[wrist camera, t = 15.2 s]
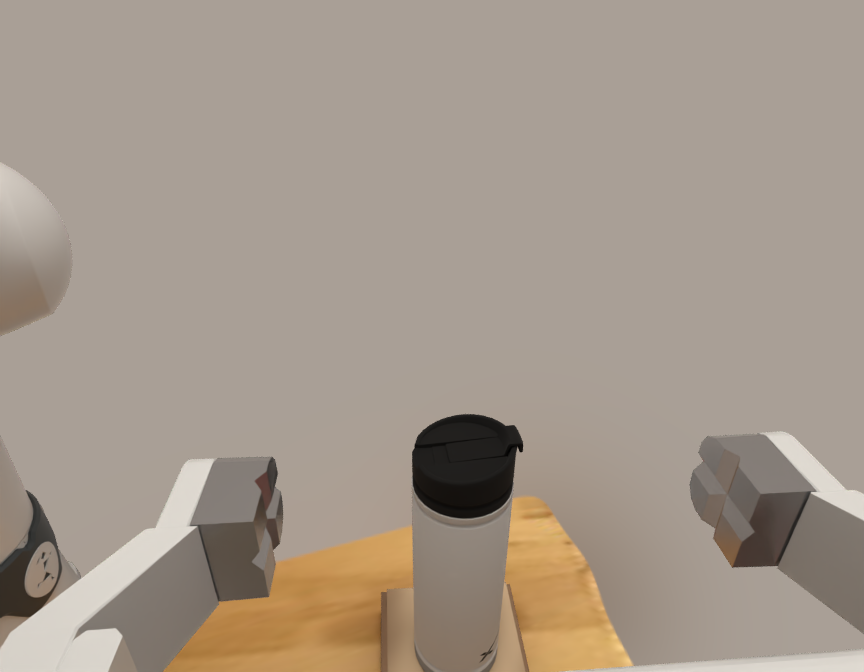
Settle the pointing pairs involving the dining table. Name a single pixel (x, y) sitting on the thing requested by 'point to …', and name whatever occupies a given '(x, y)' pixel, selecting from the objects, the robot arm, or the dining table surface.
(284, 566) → the dining table surface
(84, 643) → the robot arm
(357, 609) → the dining table surface
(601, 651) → the dining table surface
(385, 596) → the plinth
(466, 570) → the travel mug
